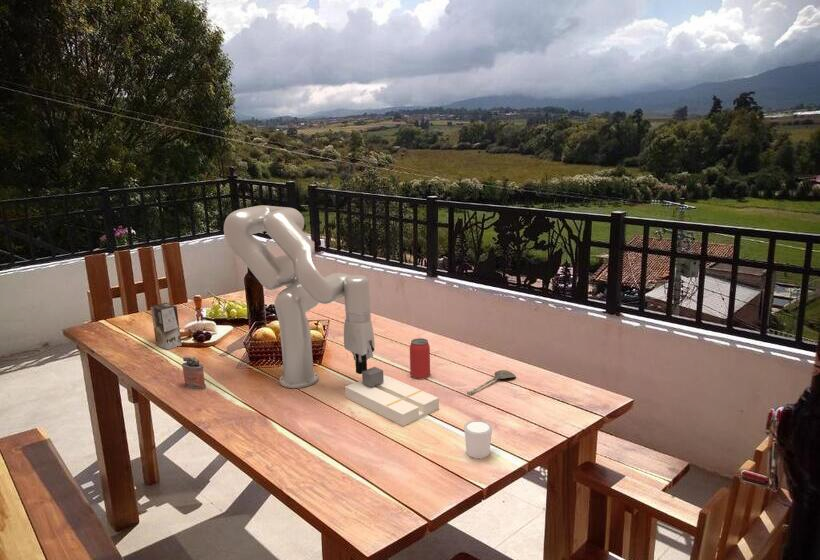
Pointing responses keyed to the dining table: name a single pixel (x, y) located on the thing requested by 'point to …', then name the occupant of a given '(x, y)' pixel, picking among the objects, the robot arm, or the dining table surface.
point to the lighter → (193, 373)
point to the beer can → (419, 358)
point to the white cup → (478, 438)
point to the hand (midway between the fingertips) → (361, 372)
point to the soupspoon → (498, 375)
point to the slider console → (393, 400)
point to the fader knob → (372, 377)
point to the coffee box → (166, 325)
